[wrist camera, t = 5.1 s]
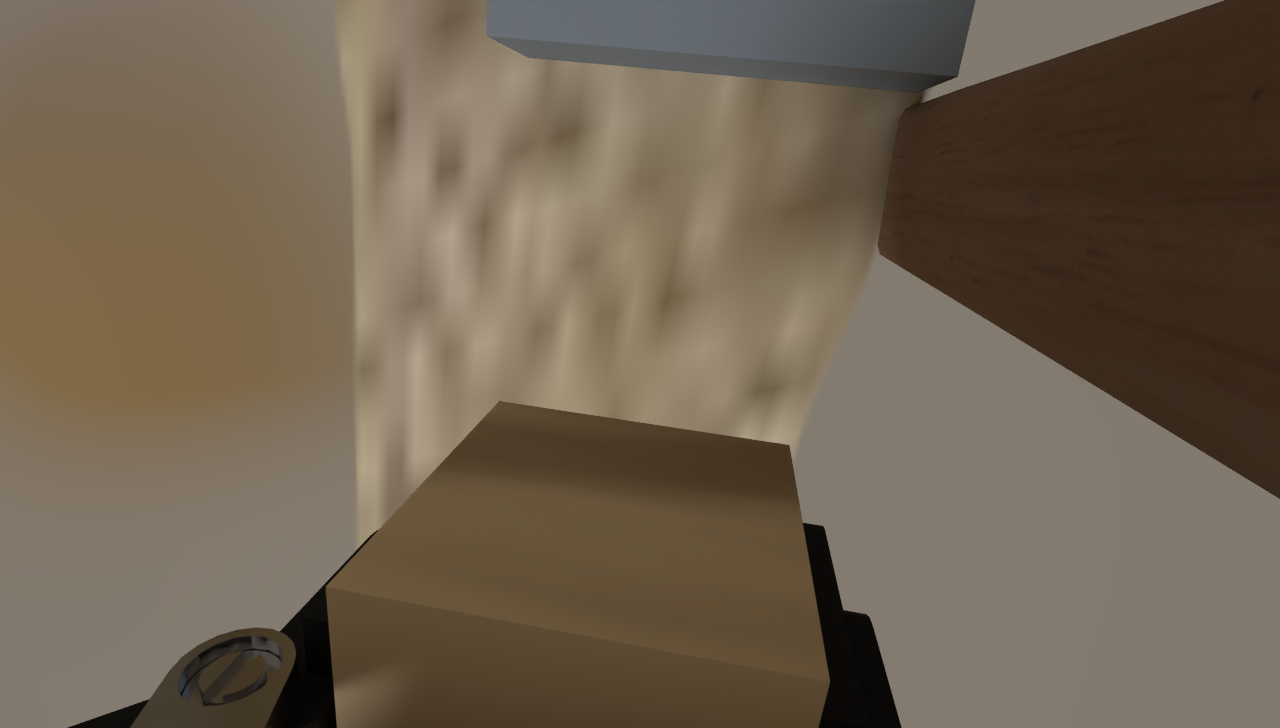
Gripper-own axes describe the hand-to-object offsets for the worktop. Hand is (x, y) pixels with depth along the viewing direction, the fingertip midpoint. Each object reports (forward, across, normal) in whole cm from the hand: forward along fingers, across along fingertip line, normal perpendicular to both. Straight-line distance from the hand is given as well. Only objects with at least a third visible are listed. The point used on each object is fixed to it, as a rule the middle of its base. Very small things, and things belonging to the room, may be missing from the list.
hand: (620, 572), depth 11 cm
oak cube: (+1, 0, 0) cm, 1 cm away
